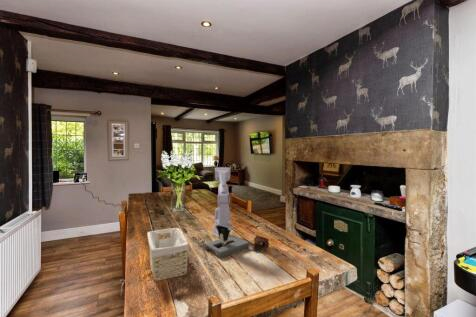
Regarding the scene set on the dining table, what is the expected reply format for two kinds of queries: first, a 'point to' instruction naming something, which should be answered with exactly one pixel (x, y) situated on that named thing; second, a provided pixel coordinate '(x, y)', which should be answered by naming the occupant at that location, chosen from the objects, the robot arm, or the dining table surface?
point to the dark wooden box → (258, 245)
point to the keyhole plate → (227, 246)
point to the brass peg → (223, 240)
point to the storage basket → (168, 253)
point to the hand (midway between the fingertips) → (223, 239)
